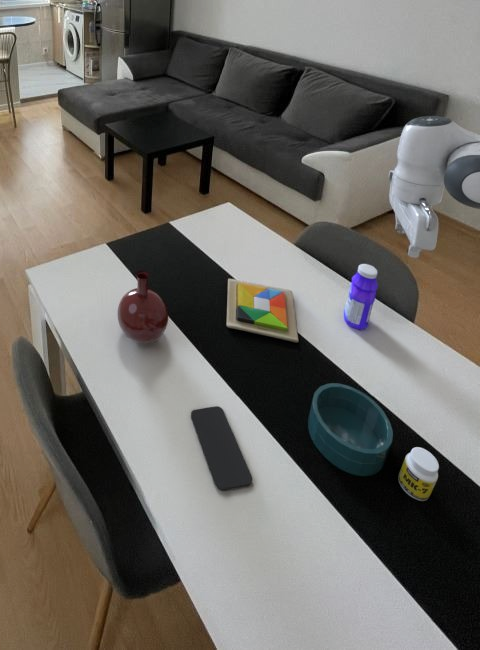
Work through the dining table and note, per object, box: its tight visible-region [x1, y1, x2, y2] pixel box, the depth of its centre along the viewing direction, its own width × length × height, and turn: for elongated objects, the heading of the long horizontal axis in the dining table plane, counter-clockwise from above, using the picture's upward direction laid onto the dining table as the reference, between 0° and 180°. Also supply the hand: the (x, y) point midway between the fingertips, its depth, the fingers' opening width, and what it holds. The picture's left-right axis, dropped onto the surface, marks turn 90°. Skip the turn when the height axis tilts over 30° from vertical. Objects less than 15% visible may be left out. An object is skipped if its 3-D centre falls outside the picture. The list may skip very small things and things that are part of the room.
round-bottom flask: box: [116, 269, 169, 344], centre depth 110 cm, size 13×13×20 cm
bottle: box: [343, 263, 379, 331], centre depth 111 cm, size 7×6×17 cm
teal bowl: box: [307, 382, 394, 477], centre depth 86 cm, size 14×14×7 cm
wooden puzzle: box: [226, 278, 299, 343], centre depth 118 cm, size 18×19×4 cm
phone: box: [190, 405, 253, 492], centre depth 87 cm, size 7×1×15 cm
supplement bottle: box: [397, 446, 440, 502], centre depth 78 cm, size 5×5×8 cm
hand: (406, 243), depth 97 cm, fingers open, 8 cm apart
